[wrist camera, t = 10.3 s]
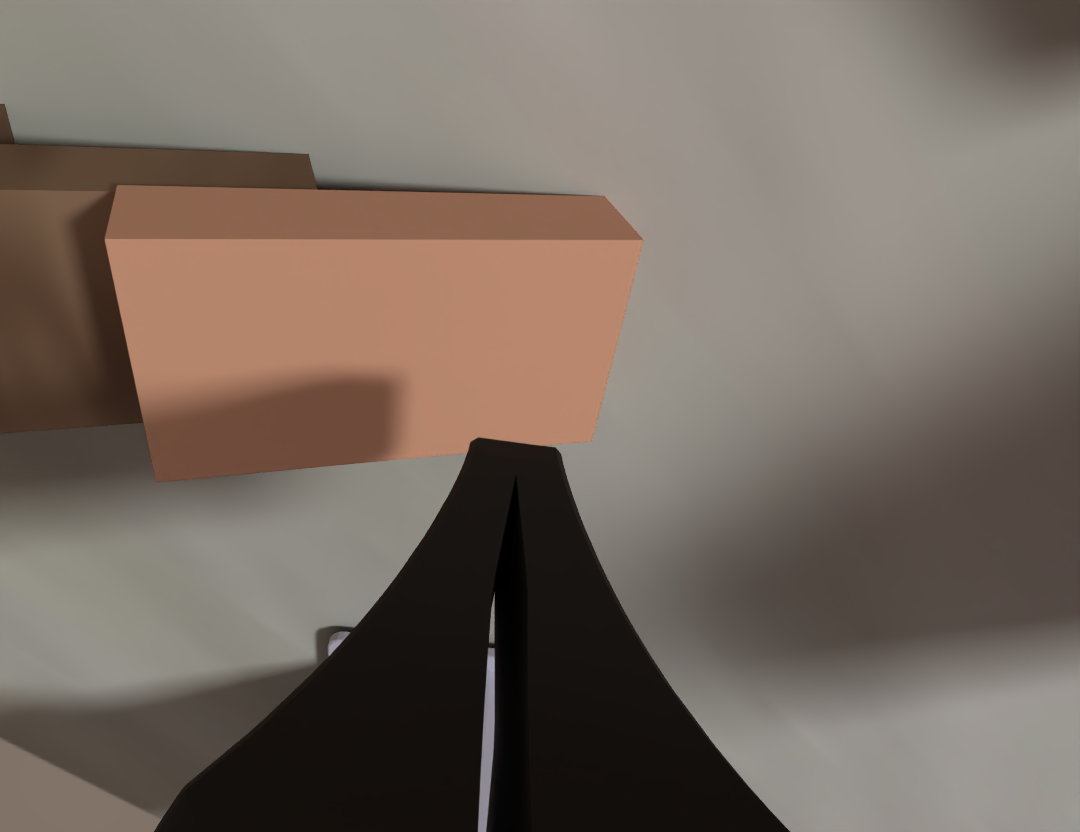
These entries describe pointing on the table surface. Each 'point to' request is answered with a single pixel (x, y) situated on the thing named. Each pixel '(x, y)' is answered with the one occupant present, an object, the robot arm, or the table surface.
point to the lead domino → (363, 321)
